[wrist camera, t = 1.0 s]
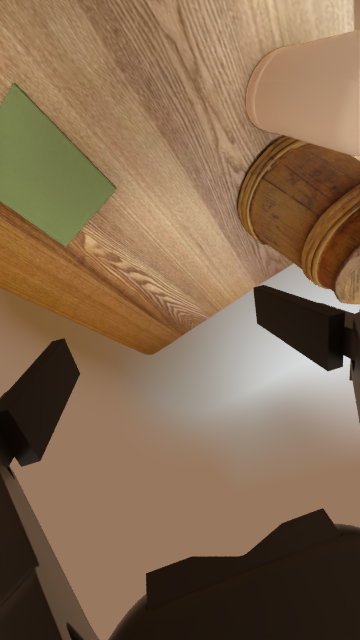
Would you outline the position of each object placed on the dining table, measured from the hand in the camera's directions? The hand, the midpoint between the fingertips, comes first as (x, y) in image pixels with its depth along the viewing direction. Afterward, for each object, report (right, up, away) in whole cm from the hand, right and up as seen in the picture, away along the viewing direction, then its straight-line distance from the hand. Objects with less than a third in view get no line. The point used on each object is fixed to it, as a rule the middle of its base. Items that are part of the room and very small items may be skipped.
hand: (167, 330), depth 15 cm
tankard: (+22, +23, +28) cm, 43 cm away
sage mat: (-19, +22, +19) cm, 34 cm away
